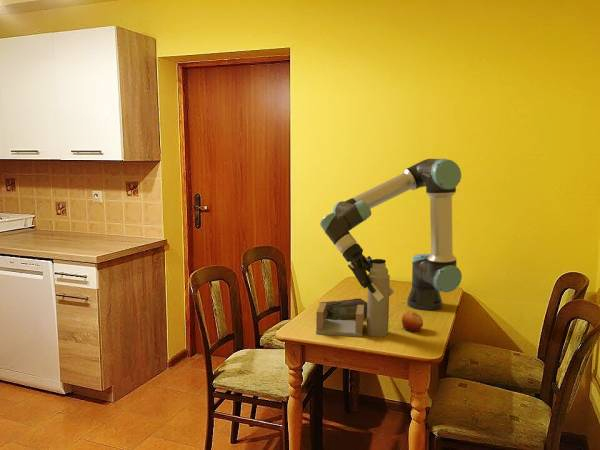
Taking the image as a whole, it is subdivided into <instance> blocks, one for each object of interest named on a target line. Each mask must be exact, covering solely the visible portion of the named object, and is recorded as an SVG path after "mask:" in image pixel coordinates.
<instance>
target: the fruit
mask: <svg viewBox="0 0 600 450" xmlns="http://www.w3.org/2000/svg"><path fill="white" fill-rule="evenodd" d="M401 323H402V324H401V326H402V328H401V330H403V329H405V330H406V331H409V332H412V333H414V332H417V331H419V330H421V328H422V327H423V325H424V321H423V318H422V316H421V315H420V314H419V313H417V312H416V311H412V310H409V311H406V312H405V313H404V314H403V315H402V317H401Z"/></svg>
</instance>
